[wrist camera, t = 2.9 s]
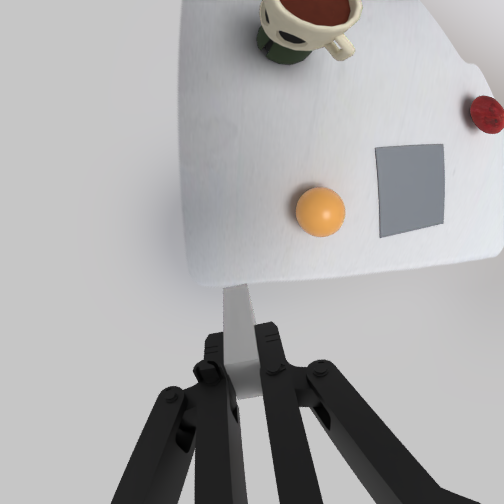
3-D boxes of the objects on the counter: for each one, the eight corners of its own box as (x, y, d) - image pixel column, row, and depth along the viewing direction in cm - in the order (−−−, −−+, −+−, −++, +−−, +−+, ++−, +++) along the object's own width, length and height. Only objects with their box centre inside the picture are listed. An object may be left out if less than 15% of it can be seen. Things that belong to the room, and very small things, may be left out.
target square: (375, 147, 30) (375, 148, 30) (442, 144, 30) (443, 144, 30) (379, 237, 35) (380, 237, 35) (442, 222, 35) (443, 223, 35)
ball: (287, 187, 31) (299, 198, 26) (332, 179, 31) (351, 189, 26) (294, 231, 33) (306, 249, 28) (336, 223, 33) (354, 239, 28)
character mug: (228, 25, 23) (230, -33, 11) (277, -2, 21) (304, -60, 10) (289, 93, 27) (331, 68, 15) (336, 63, 25) (395, 33, 14)
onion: (467, 136, 29) (505, 143, 22) (455, 101, 27) (494, 102, 20) (485, 124, 28) (520, 130, 21) (474, 91, 26) (510, 92, 19)
